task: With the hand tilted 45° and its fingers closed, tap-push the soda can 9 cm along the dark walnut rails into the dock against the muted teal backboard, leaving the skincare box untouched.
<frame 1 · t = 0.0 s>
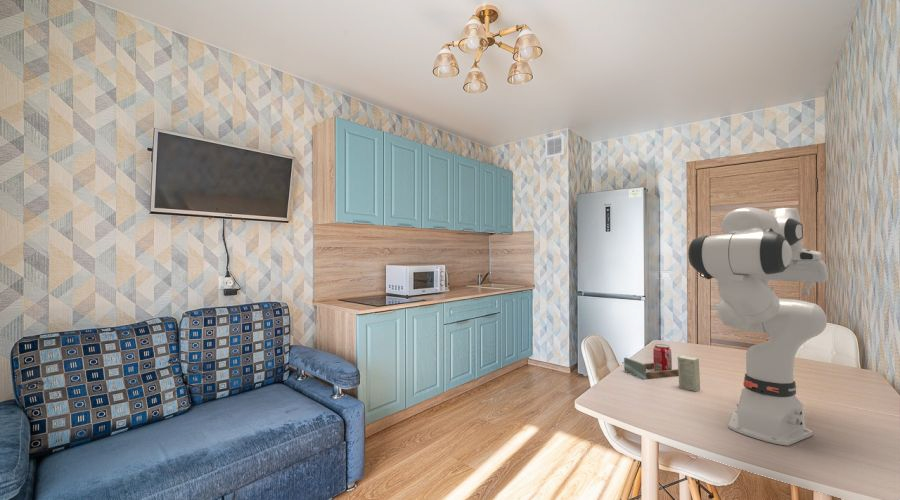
hand: (787, 293, 127), 39 cm above the table, tool pointing down, fingers open, 8 cm apart
can dock: (645, 373, 162), on the table
soda can: (662, 372, 164), on the table
skincare box: (689, 388, 144), on the table
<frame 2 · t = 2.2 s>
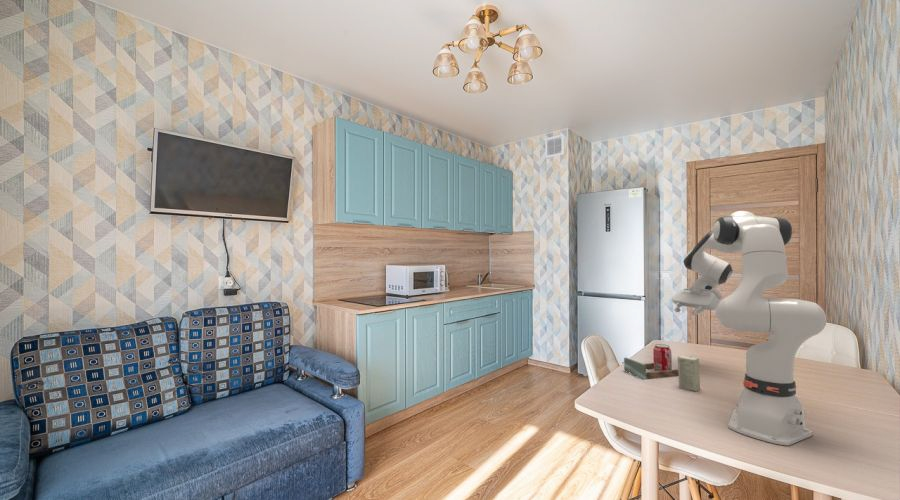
hand: (684, 312, 168), 26 cm above the table, tool tilted 45°, fingers open, 8 cm apart
nothing on the table moved.
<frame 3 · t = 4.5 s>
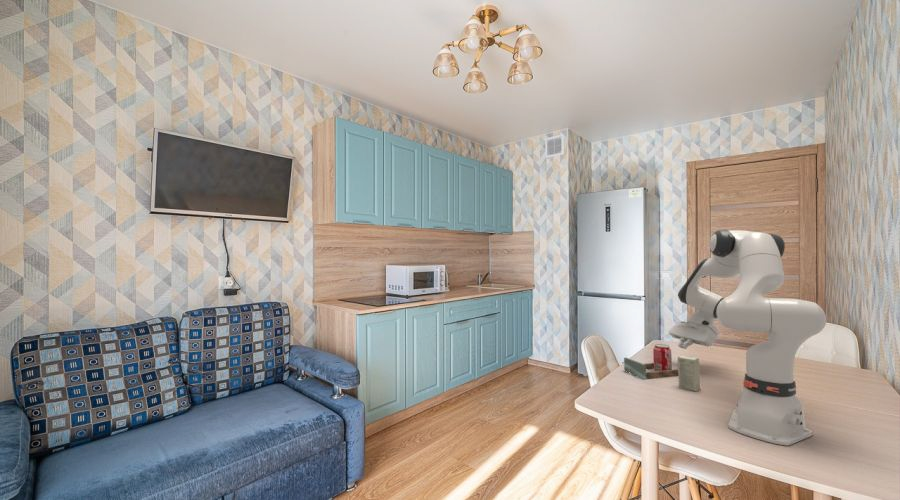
hand: (681, 347, 167), 10 cm above the table, tool tilted 45°, fingers closed
nothing on the table moved.
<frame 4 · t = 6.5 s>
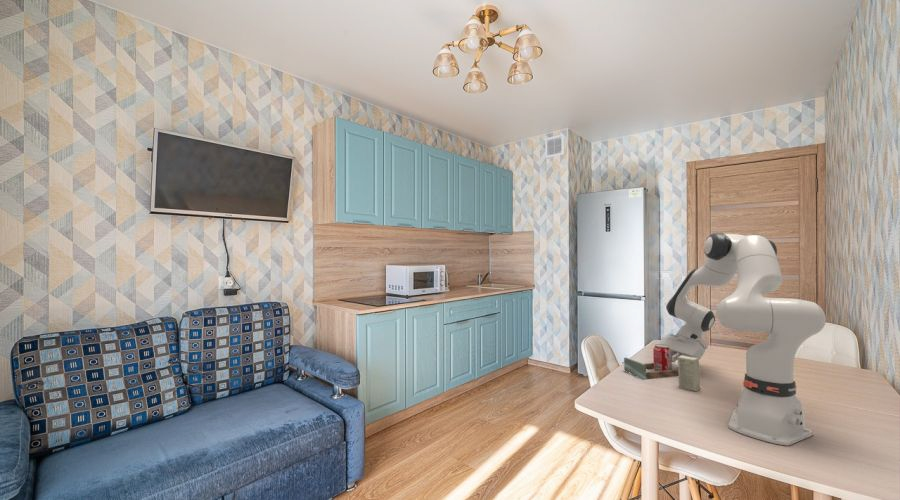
hand: (670, 360, 165), 5 cm above the table, tool tilted 45°, fingers closed
soda can: (662, 372, 164), on the table, touching gripper
everything else where it was.
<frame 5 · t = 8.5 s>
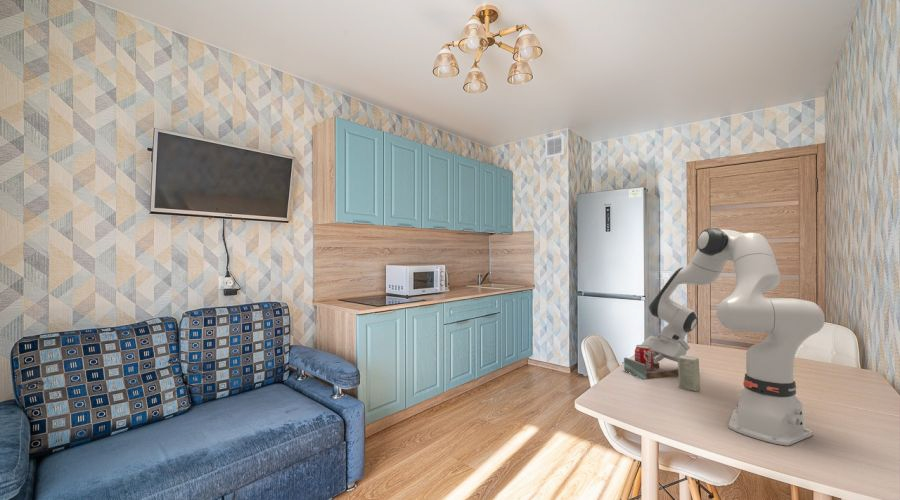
hand: (652, 362, 163), 5 cm above the table, tool tilted 45°, fingers closed, pressing on soda can
soda can: (643, 373, 163), on the table, touching gripper
everything else where it was.
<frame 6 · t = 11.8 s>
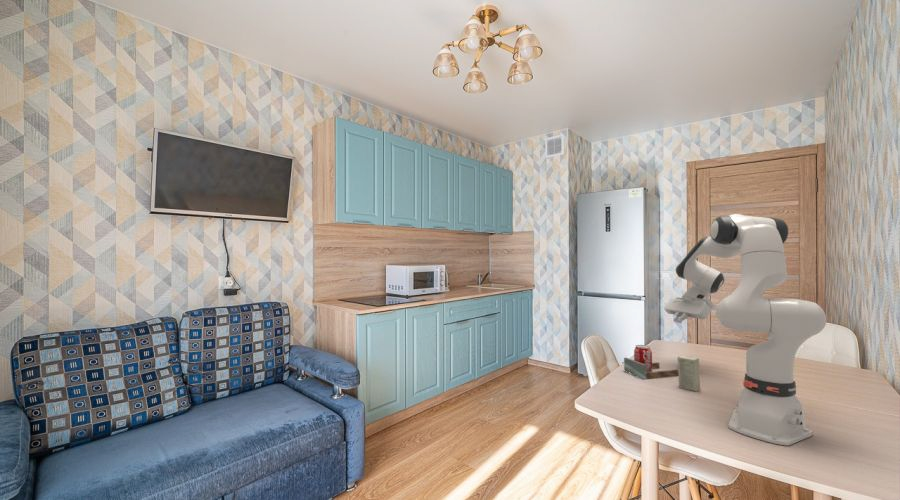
hand: (676, 321, 167), 22 cm above the table, tool tilted 45°, fingers closed
soda can: (643, 373, 163), on the table
everything else where it was.
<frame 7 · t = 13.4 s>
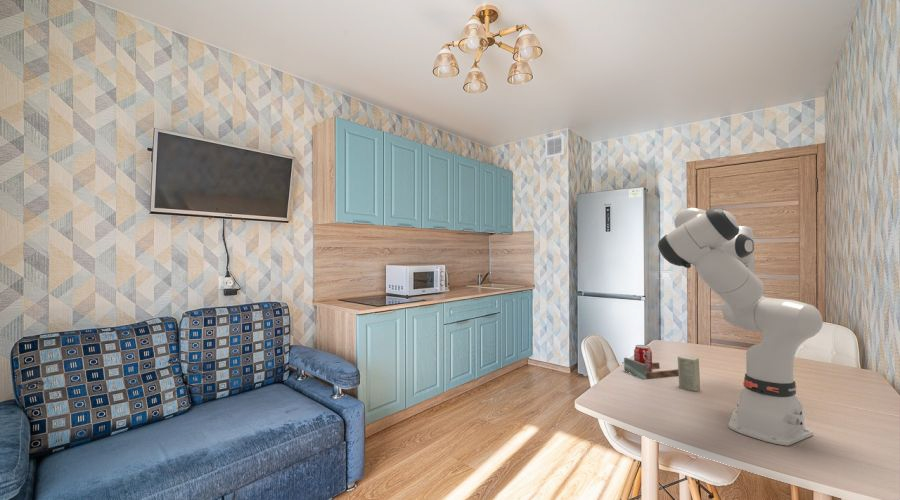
hand: (740, 302, 144), 34 cm above the table, tool pointing down, fingers closed
nothing on the table moved.
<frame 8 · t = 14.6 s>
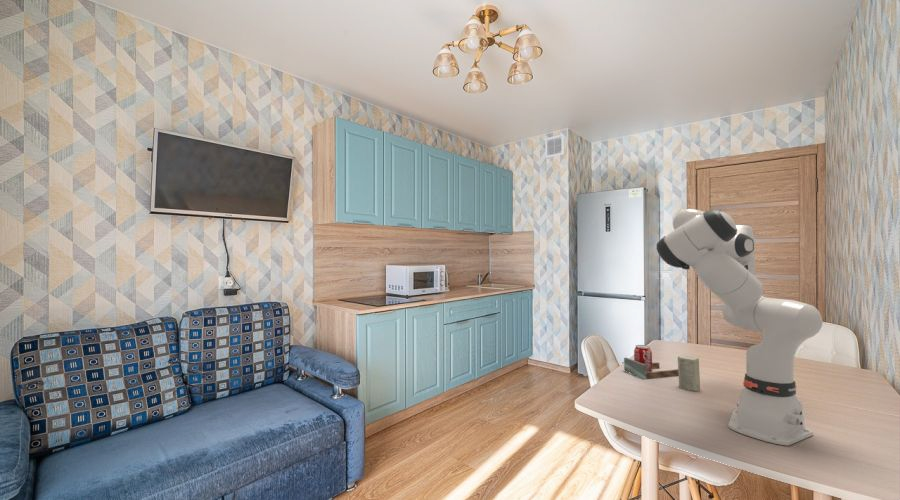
hand: (741, 301, 144), 34 cm above the table, tool pointing down, fingers closed
nothing on the table moved.
at the end: soda can 1.0 cm from the can dock (horizontally); soda can tilted 0°; skincare box moved 0.2 cm from its start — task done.
